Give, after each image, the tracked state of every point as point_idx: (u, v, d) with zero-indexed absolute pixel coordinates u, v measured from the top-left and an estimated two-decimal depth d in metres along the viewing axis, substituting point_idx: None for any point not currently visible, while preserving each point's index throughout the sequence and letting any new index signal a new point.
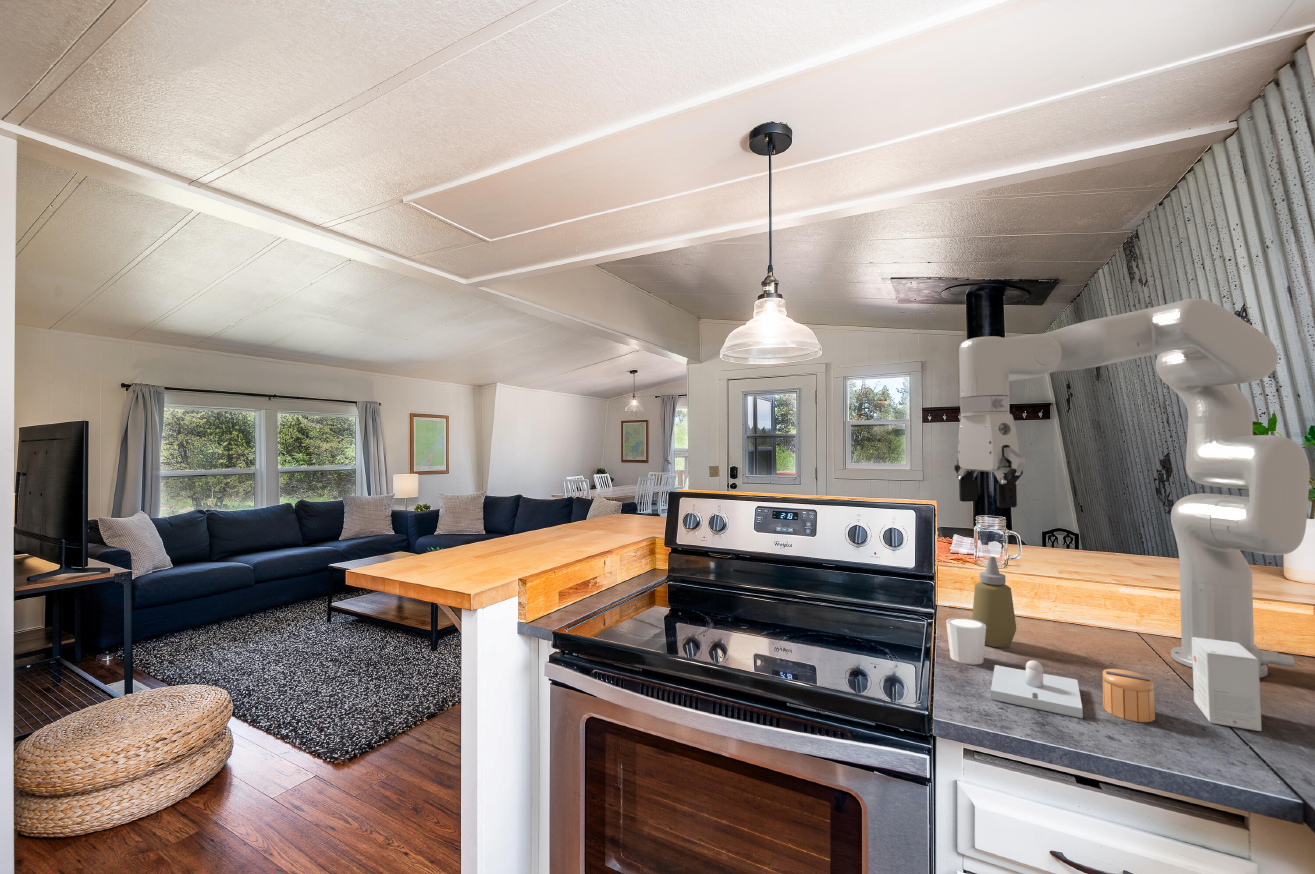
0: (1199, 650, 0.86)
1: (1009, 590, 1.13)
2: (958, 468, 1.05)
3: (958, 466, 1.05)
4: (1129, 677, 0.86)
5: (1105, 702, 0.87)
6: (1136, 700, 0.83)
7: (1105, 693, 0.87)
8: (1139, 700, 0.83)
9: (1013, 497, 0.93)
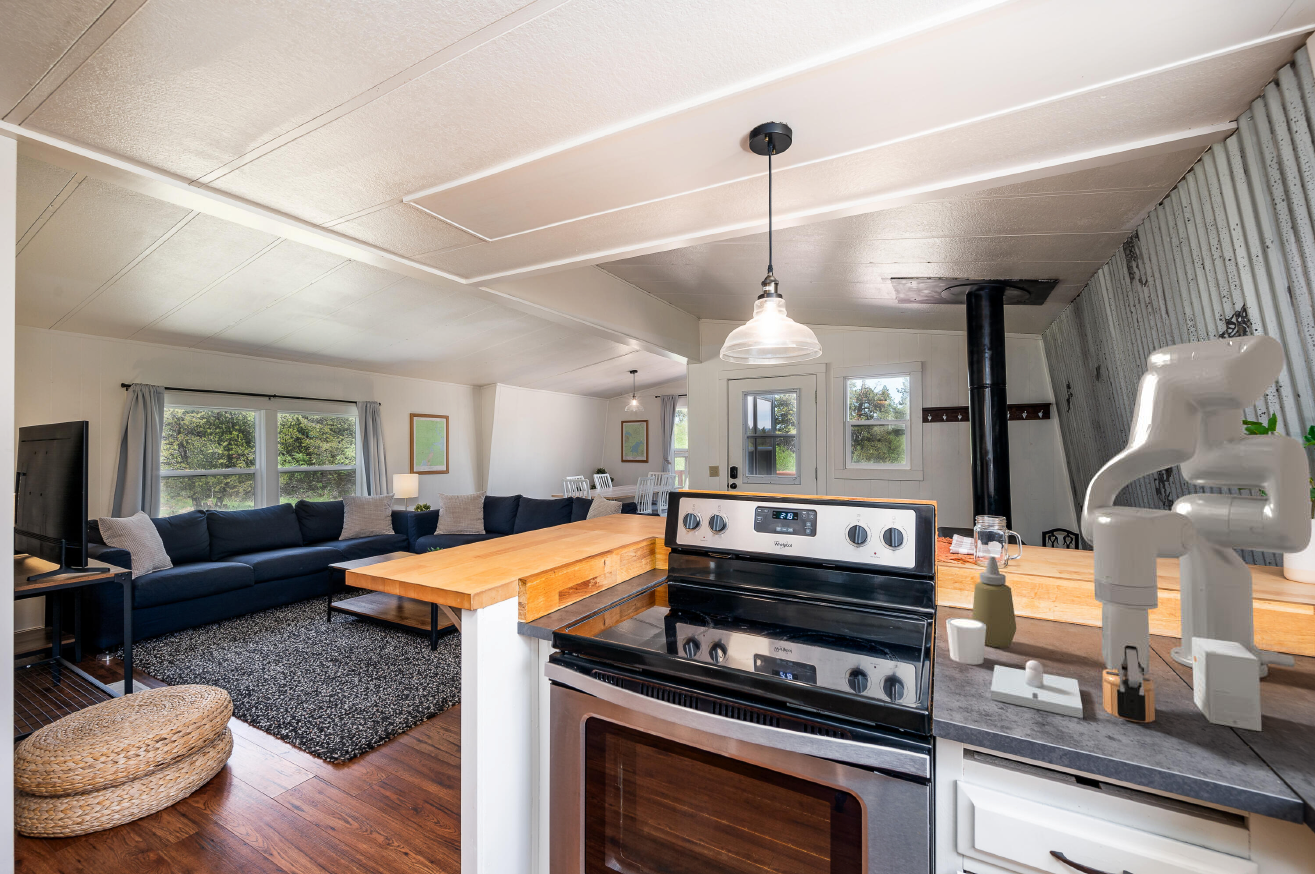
0: (1199, 650, 0.86)
1: (1009, 590, 1.13)
2: None
3: None
4: None
5: (1105, 702, 0.87)
6: None
7: (1105, 693, 0.87)
8: None
9: None
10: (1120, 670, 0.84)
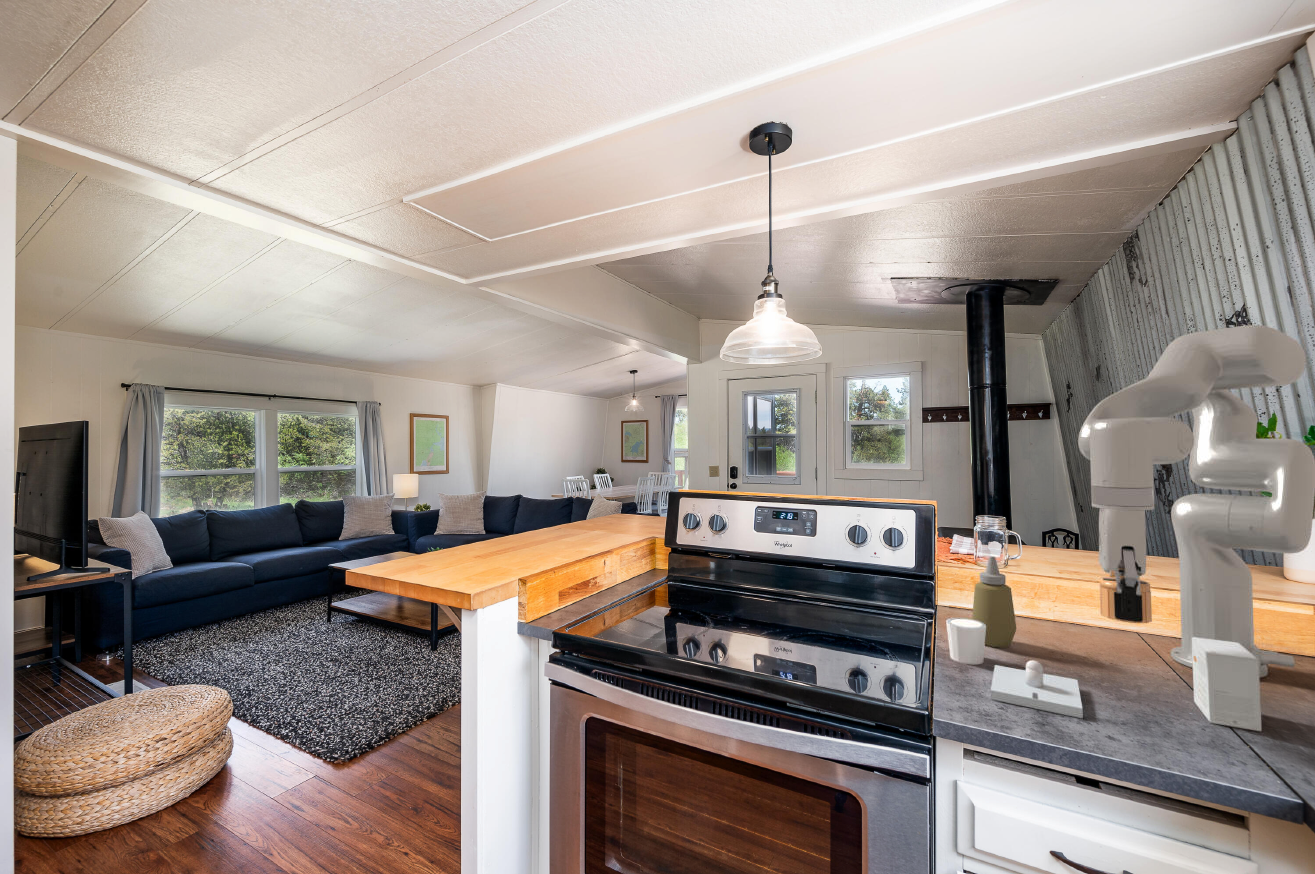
0: (1199, 650, 0.86)
1: (1009, 590, 1.13)
2: None
3: None
4: None
5: (1102, 608, 0.87)
6: None
7: (1102, 599, 0.87)
8: None
9: None
10: (1117, 572, 0.84)
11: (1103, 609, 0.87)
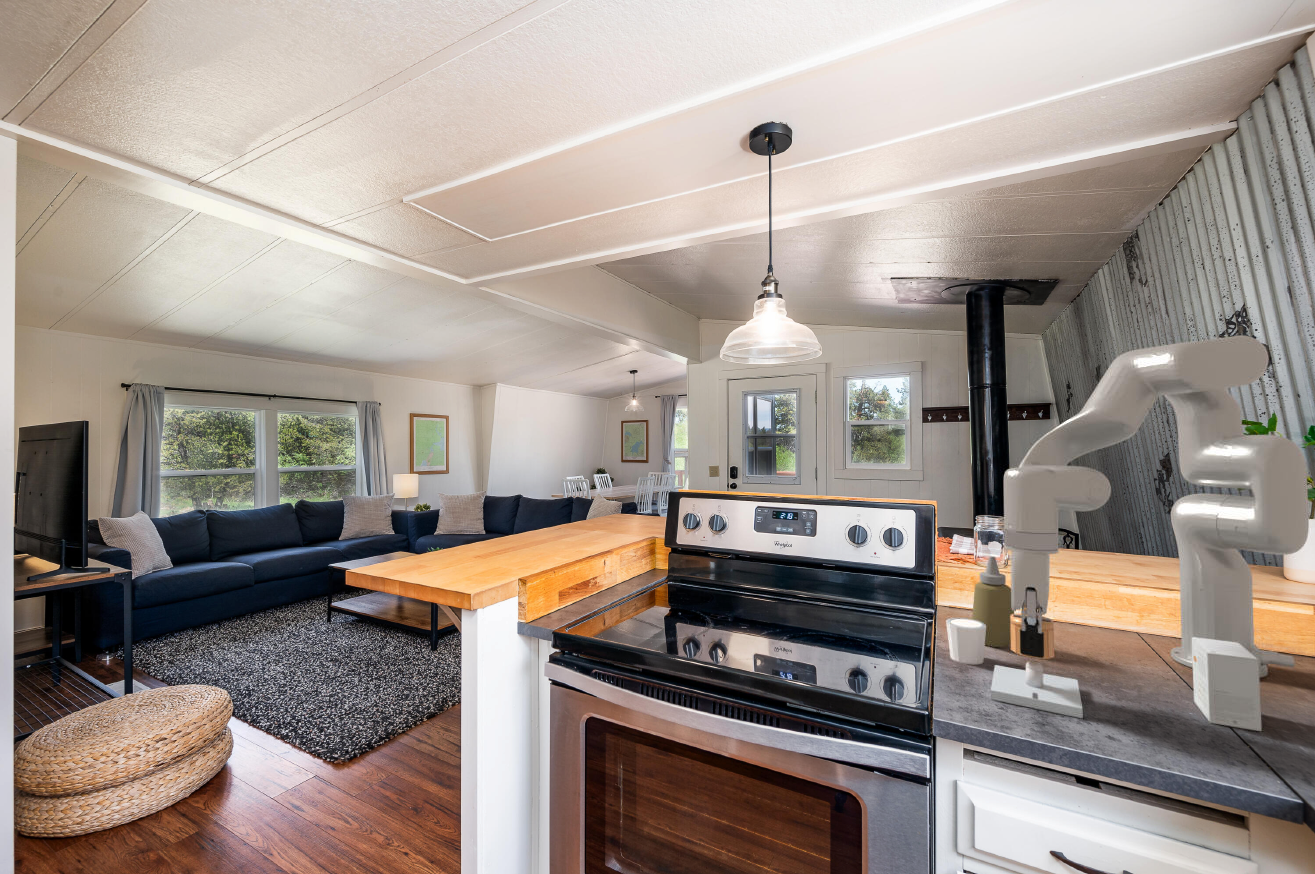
0: (1199, 650, 0.86)
1: (1009, 590, 1.13)
2: None
3: None
4: None
5: (1011, 643, 0.94)
6: None
7: (1011, 634, 0.94)
8: None
9: None
10: (1022, 611, 0.91)
11: (1012, 644, 0.93)
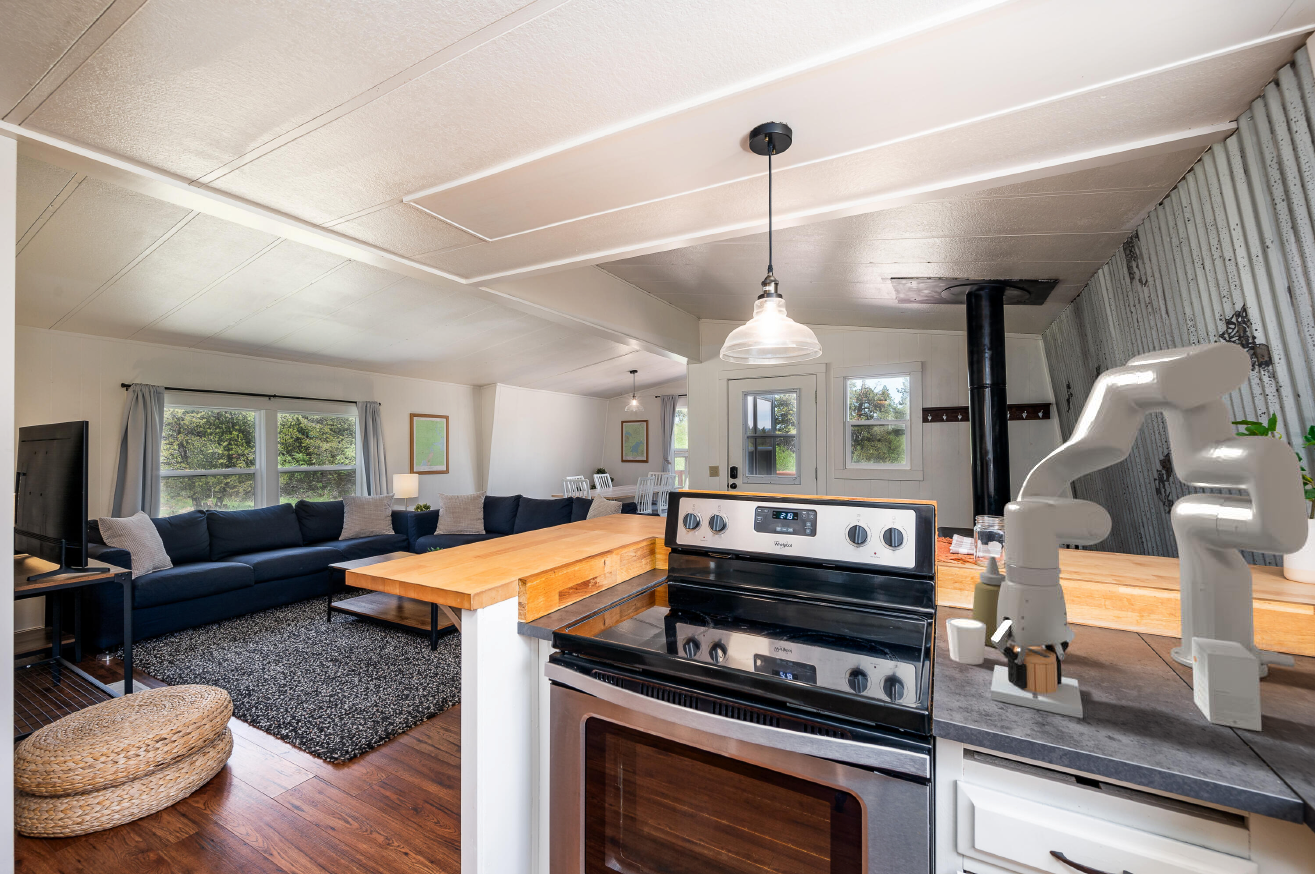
0: (1199, 650, 0.86)
1: None
2: (1012, 649, 0.91)
3: (1011, 648, 0.91)
4: (1032, 652, 0.93)
5: None
6: None
7: None
8: None
9: None
10: (1008, 640, 0.93)
11: None
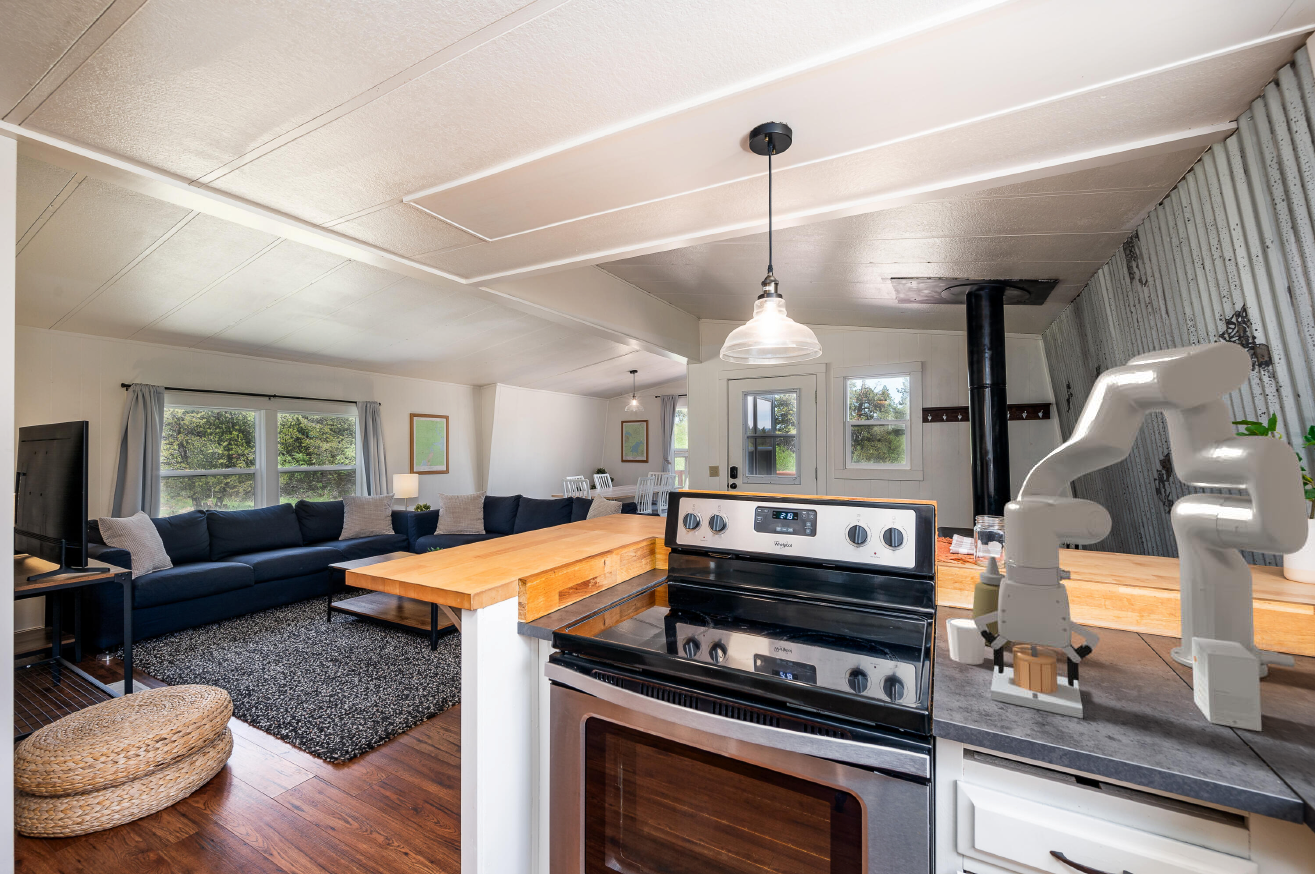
0: (1199, 650, 0.86)
1: None
2: (989, 635, 0.96)
3: (988, 632, 0.96)
4: (1030, 651, 0.93)
5: None
6: (1013, 663, 0.94)
7: None
8: (1014, 664, 0.94)
9: None
10: None
11: None
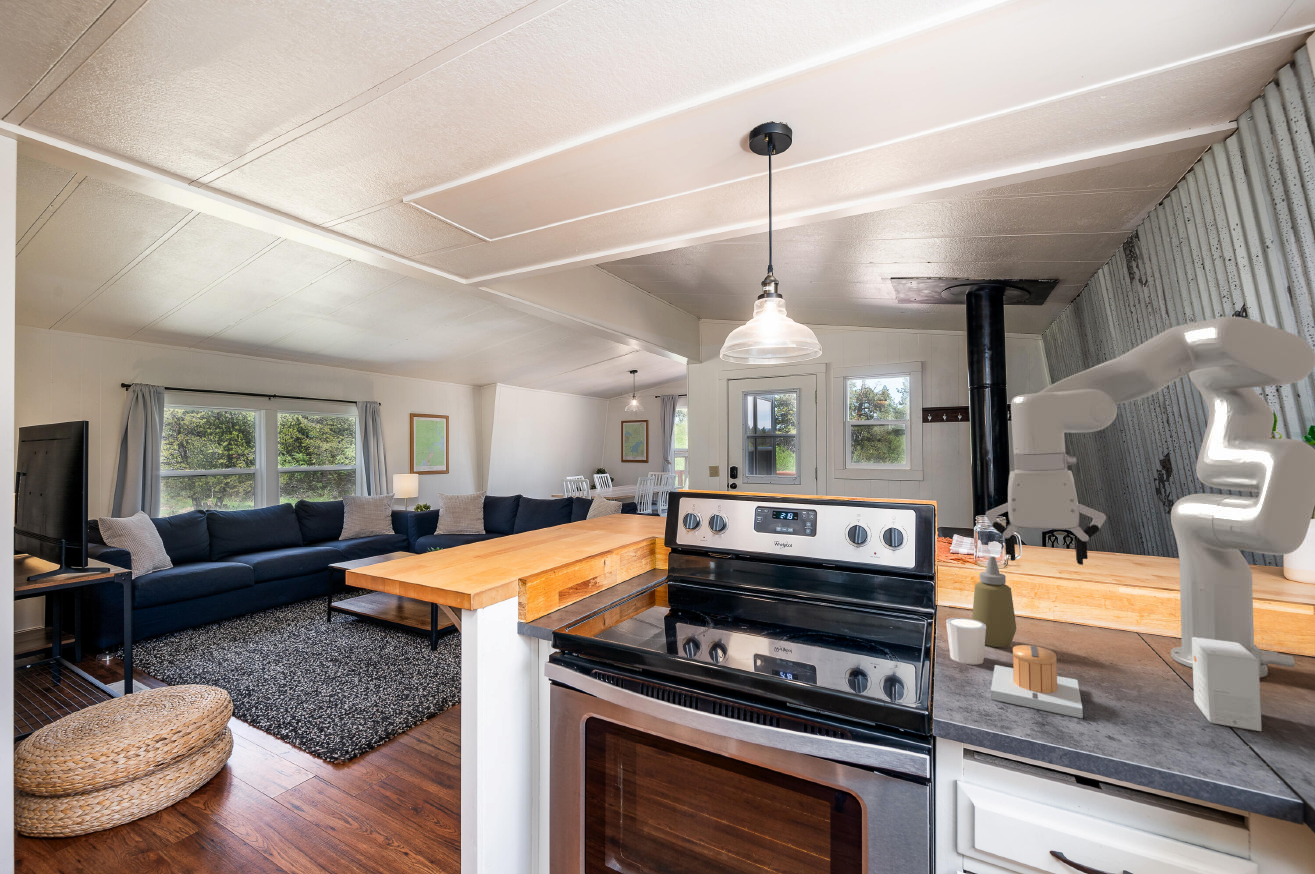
0: (1199, 650, 0.86)
1: (1009, 590, 1.13)
2: (1000, 525, 1.00)
3: (999, 523, 1.00)
4: (1030, 651, 0.93)
5: None
6: (1013, 663, 0.94)
7: None
8: (1014, 664, 0.94)
9: None
10: None
11: None
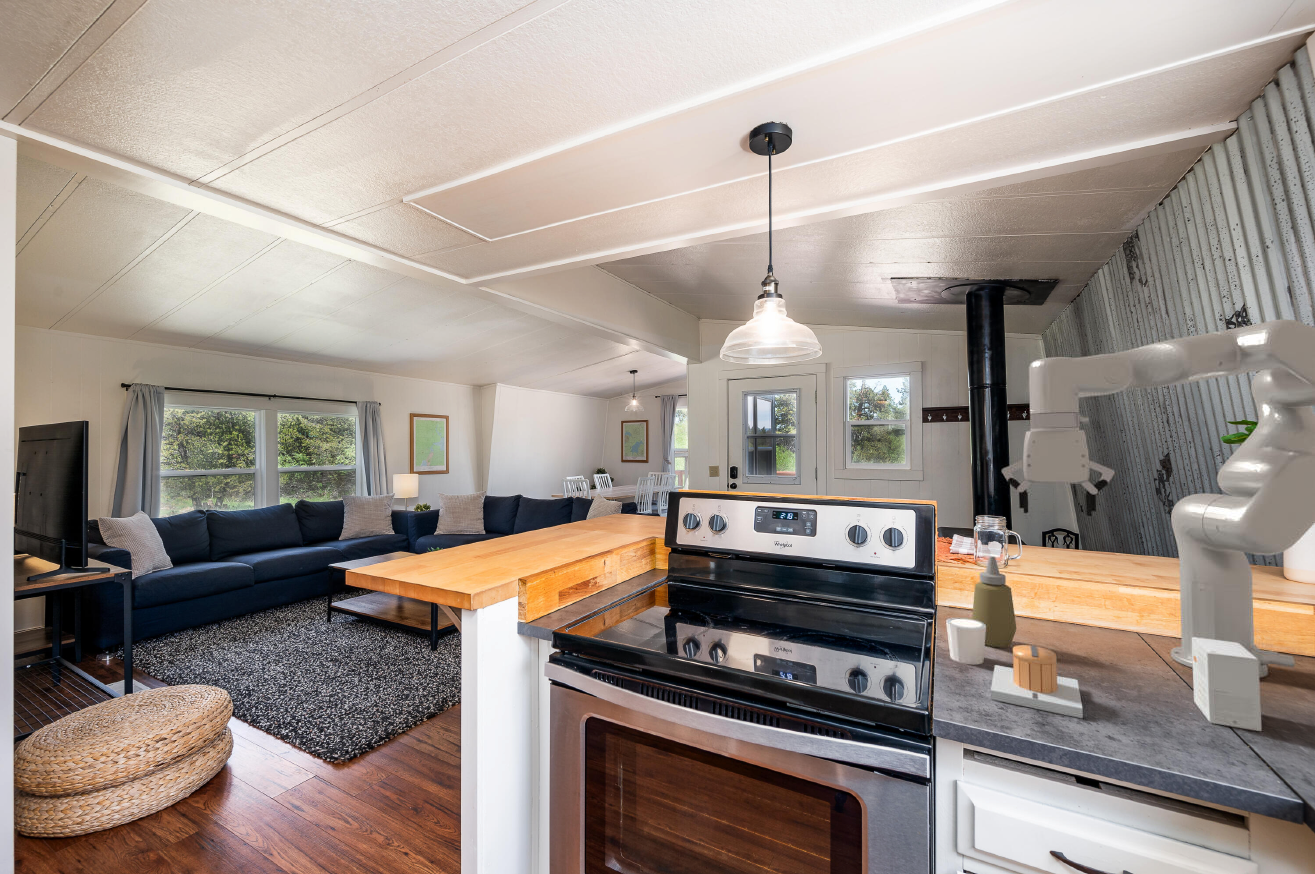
0: (1199, 650, 0.86)
1: (1009, 590, 1.13)
2: (1015, 481, 1.08)
3: (1014, 479, 1.08)
4: (1030, 651, 0.93)
5: None
6: (1013, 663, 0.94)
7: None
8: (1014, 664, 0.94)
9: None
10: None
11: None
